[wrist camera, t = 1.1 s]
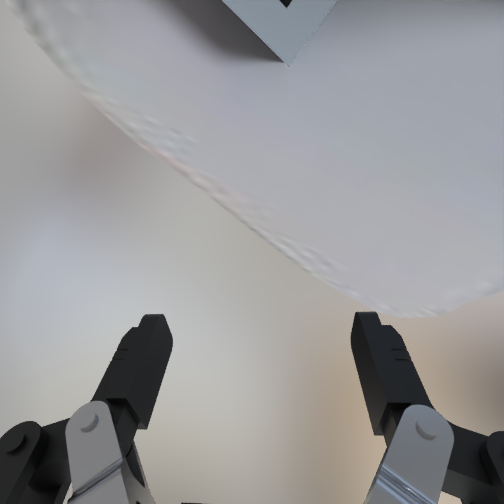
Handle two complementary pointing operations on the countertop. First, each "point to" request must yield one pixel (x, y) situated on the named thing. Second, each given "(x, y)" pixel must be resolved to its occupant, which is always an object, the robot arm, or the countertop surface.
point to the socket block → (282, 22)
